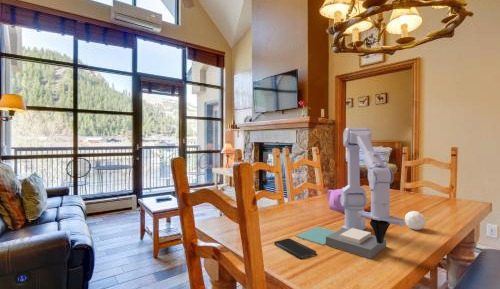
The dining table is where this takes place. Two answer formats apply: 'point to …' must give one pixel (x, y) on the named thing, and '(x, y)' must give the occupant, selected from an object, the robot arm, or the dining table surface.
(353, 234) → the tile
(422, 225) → the geometric ball
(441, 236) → the dining table surface
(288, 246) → the phone
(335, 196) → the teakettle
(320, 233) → the mat
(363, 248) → the block
